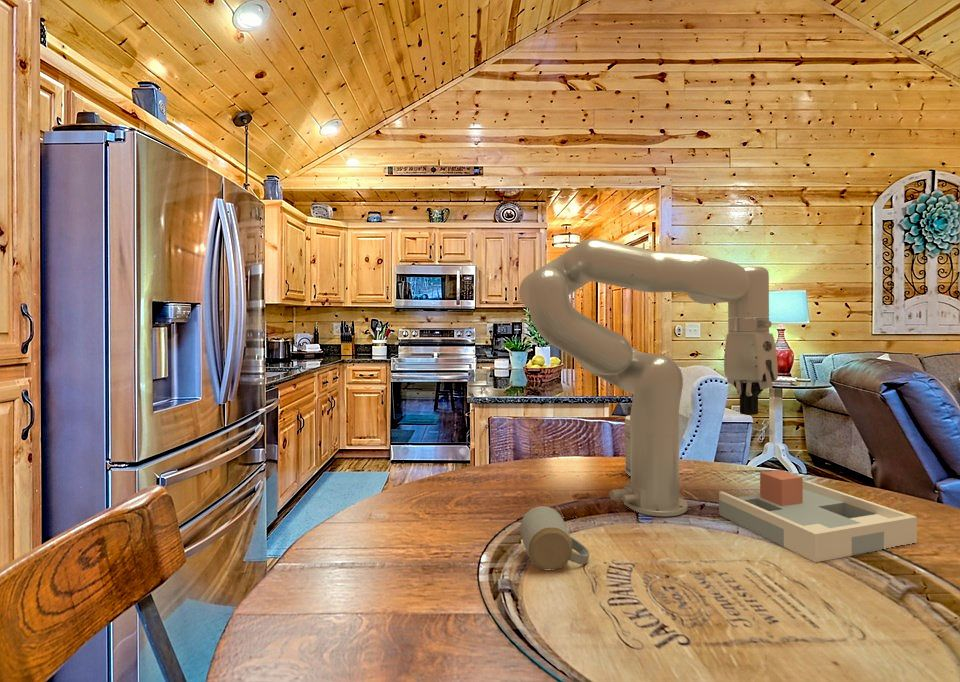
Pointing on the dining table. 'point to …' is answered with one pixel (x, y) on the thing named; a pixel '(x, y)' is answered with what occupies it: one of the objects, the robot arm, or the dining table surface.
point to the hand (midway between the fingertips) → (749, 414)
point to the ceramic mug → (550, 539)
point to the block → (781, 487)
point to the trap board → (822, 523)
